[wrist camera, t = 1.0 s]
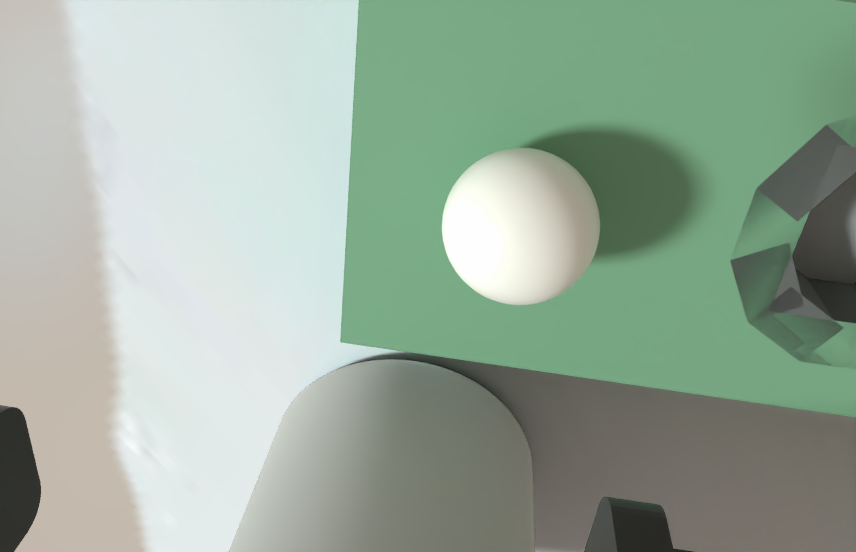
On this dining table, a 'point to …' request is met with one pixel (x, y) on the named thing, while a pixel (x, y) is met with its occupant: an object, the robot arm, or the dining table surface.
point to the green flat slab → (615, 186)
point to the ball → (520, 226)
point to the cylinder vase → (393, 468)
